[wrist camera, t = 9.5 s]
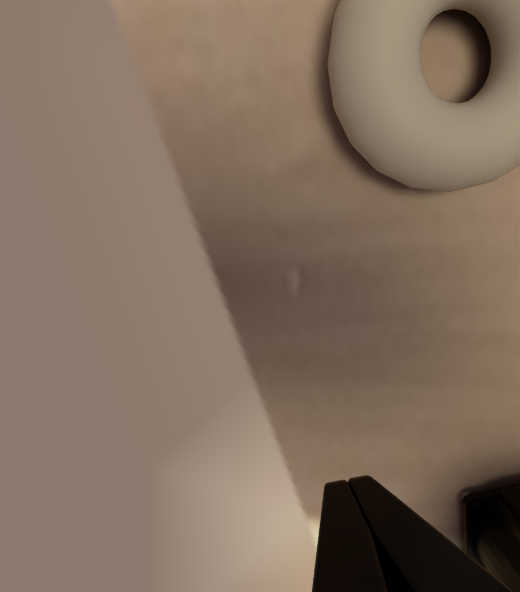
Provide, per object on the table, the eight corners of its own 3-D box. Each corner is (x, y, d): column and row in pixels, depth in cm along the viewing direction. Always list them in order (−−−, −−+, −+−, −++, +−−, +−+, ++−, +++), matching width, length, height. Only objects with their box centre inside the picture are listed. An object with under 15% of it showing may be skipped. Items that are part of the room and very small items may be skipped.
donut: (301, -75, 12) (609, -202, 12) (283, -17, 15) (524, -116, 15) (389, 233, 15) (639, 132, 15) (358, 224, 18) (562, 143, 18)
